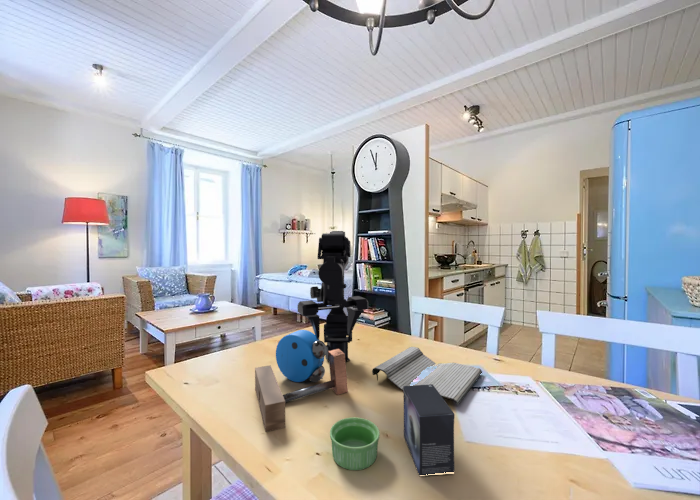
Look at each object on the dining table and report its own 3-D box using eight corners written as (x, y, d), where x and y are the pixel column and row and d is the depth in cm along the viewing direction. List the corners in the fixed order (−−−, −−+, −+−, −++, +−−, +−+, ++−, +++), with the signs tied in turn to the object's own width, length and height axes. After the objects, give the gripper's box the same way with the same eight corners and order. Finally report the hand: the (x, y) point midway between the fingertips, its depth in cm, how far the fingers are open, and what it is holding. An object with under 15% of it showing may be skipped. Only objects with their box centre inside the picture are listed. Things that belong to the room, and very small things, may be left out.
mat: (458, 412, 70) (458, 392, 69) (371, 383, 84) (371, 366, 84) (483, 376, 88) (483, 360, 88) (408, 358, 102) (409, 344, 102)
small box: (401, 436, 60) (401, 384, 60) (433, 435, 61) (433, 383, 60) (417, 478, 49) (417, 414, 49) (456, 475, 50) (456, 412, 50)
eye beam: (270, 385, 81) (270, 365, 81) (285, 427, 63) (285, 401, 63) (255, 388, 80) (255, 367, 80) (265, 432, 61) (265, 405, 61)
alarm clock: (286, 366, 92) (328, 382, 85) (272, 374, 86) (315, 391, 79) (289, 324, 91) (332, 336, 84) (275, 329, 86) (319, 343, 79)
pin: (341, 384, 81) (338, 348, 80) (347, 391, 77) (344, 353, 77) (280, 404, 74) (276, 364, 74) (283, 412, 71) (279, 370, 70)
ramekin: (383, 472, 51) (383, 446, 51) (330, 475, 50) (330, 449, 50) (375, 438, 60) (375, 416, 60) (329, 440, 59) (329, 418, 59)
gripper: (351, 274, 93) (351, 325, 94) (292, 278, 85) (292, 332, 86) (369, 279, 83) (369, 335, 84) (303, 283, 75) (303, 345, 76)
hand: (333, 336), depth 82 cm, fingers open, 9 cm apart
